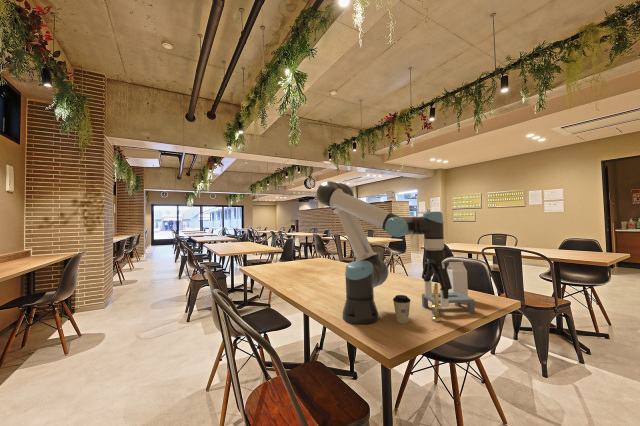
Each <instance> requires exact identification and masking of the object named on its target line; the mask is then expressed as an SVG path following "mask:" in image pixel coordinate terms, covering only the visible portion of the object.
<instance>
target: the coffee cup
mask: <svg viewBox="0 0 640 426" xmlns="http://www.w3.org/2000/svg"><path fill="white" fill-rule="evenodd" d="M392 301H393V305H394V306H393V307H394V313H395V314H394V315H395V319H396V322H397V323H399V324H408V323H409V318H410V306H411V305H410V304H411V302H412V301H411V298H409V297H408V296H407V295H405V294H404V295H403V294H397V295H395V297H393V299H392Z"/></svg>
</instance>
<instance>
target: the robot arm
mask: <svg viewBox="0 0 640 426" xmlns="http://www.w3.org/2000/svg"><path fill="white" fill-rule="evenodd" d="M316 198H317V200H318V201H319V202H320V203H321V204H323V205H324V206H326V207H329V208H331V210H332V212H333V213H334V214H336V215H337V216H338V219H339V221H340V224H341V226H342V228H343V230H344V233H345V234H346V238H347V240H348V242H349V245H350V246H351V249H352V251H353V254H354V256H355V259H356V260H355V261H351V262H348V263H347V264H346V266H345V272H344V275H345V294H346V295H345V297H346V299H345V303H344V306H343V309H342V319H343V320H344V322H347V323H351V324H354V325H355V324H356V325H370V324H373V323H376V322H377V321H378V320H379V317H380V316H379V311H378V308H377V305H376V302H375V297H374V295H375V293H374V289H375V288H376V287H378V286H381V285H382V284H384V283H385V282H386V281H387V279H388V276H389V267H388V265H387V264H386V262H385V261H384V260H381V258H380V256H379V254H378V253H377V252H375V251H373V249H372V246H371V244H370V242H369V240H368V237H367V235H366V233H365V230H364V229H363V226H362V224H361V222H360V220H362V221H364V222H366V223H368V224H370V225H373V226H374V227H377V228H379V229H381V230H383V231H385V232H386V233H387V234H388V235H389V236H391V237H394V238H400V237H403V236H404V237H405V236H409V235H420V236H421V235H423V246H424V247H423V248H424V260H423V261H424V264H423V269H422V275H421V279H422V280H423V281H424V294H425V297H432V293H433V292H432V291H433V289H432V288H433V284H432V281H433V280H432V276H433V275H436V278H437V280H438V282H439V283H438V284H439V286H440V288H439V291H440V292H439V293H440V294H441V304H440V305H441V308H445V307H447V308H449V305H450V303H449V298H448V290H449V289H452V286H451V283H450V279H449V275H448V272H447V267H448V265H447V263H446V262H442V260H444V259H445V250H444V248H445V240H444V239H445V237H444V223H445V222H444V215H443V212H441V211H424V212H423V213H422V216H399V215H397V214H394V213H392V212H390V211H388V210H385V209H383V208H381V207H378V206H375V205H374V204H371V203H369V202H367V201H364V200H362V199H359V198H357V197H355V194H354V190H353V189H352V188H351V186H349V185H347V184H345V183H342V182H335V181H334V182H333V181H330V180H329V181H324V182H322V183H320V185H318V187H317V190H316Z"/></svg>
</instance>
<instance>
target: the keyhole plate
mask: <svg viewBox="0 0 640 426" xmlns="http://www.w3.org/2000/svg"><path fill="white" fill-rule="evenodd" d="M448 298H449V304H454V305H455V306H456V307H462V303H466V307H467V312H468V313H469V314H475V313H476V312H475V311H476V310H475V309H476V308H475V299H474V298H472V297H470V296H469V295H468V296H466V295H464V294H462V293H459V292H448ZM438 299H439V305H441V294H440V292H438ZM429 302H430V303H431V305H432V304H434V293H433V292H432V297H425V293H421V306H422V308H424V309H426V308H429ZM431 313H432V315H434V309H432V308H431Z"/></svg>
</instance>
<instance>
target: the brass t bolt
mask: <svg viewBox="0 0 640 426" xmlns="http://www.w3.org/2000/svg"><path fill="white" fill-rule="evenodd" d="M432 288H433V289H432V291H433V292H432V293H434V304H432V303H431V310H432V309H434V314H433V315H432V316H431V321H432V322H434V323H441V322H443V317H442V316H440V310H442V308H443V307H441V304H439V299H438V293H439V283H438V282H433V283H432Z"/></svg>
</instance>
